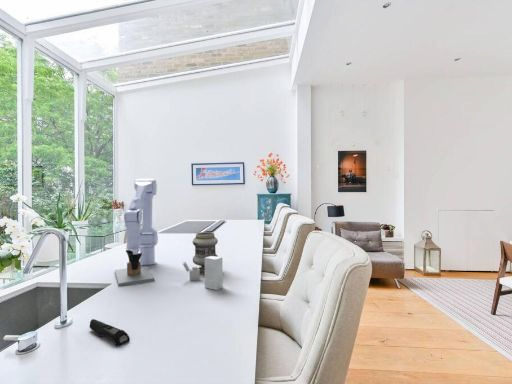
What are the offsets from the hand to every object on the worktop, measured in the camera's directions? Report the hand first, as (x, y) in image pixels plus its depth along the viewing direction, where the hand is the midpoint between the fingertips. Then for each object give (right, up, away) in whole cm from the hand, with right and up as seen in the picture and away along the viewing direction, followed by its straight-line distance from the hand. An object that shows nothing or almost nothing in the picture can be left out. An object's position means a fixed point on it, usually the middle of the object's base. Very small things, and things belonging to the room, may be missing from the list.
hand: (133, 267), depth 133 cm
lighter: (+27, -4, -5) cm, 27 cm away
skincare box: (+38, -5, -15) cm, 41 cm away
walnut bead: (0, -3, 0) cm, 3 cm away
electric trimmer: (+15, -6, -53) cm, 55 cm away
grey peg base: (0, -4, 0) cm, 4 cm away
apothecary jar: (+31, -4, +9) cm, 32 cm away
